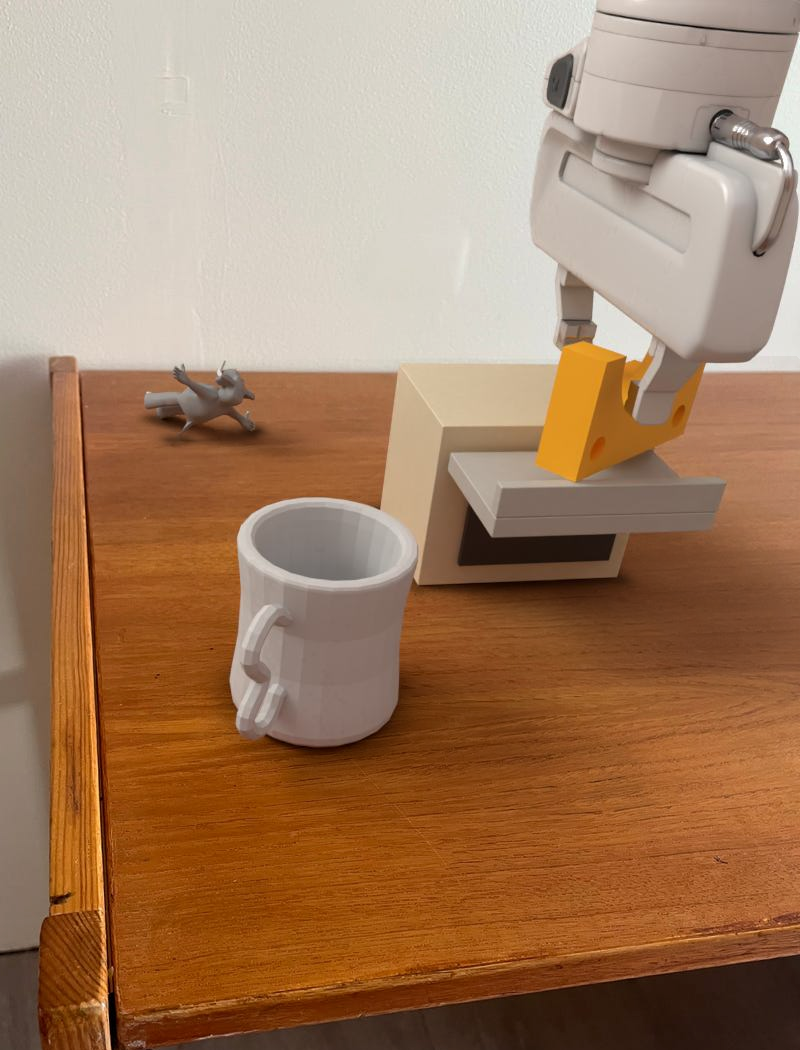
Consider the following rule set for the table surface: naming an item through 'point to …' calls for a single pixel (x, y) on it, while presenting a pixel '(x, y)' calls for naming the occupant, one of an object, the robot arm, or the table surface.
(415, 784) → the table surface
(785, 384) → the table surface
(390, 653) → the mug
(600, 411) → the pipe clamp
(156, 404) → the grey sculpted figure
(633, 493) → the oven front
